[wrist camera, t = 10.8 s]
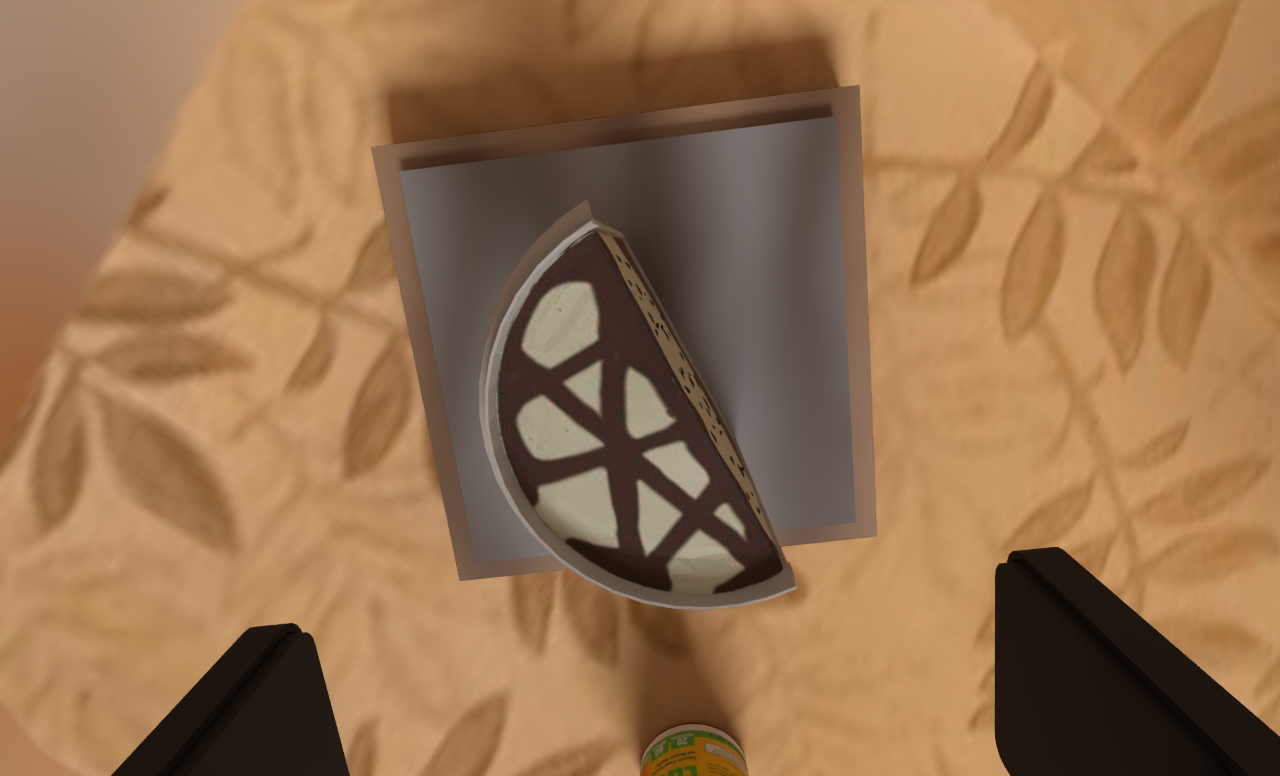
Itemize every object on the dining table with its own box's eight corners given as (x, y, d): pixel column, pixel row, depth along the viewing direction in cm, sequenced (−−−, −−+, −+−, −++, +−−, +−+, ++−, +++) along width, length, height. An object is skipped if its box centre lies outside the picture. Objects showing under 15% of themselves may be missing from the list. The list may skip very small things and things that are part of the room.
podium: (841, 93, 29) (863, 82, 26) (860, 511, 34) (880, 541, 31) (393, 150, 30) (366, 146, 27) (472, 553, 34) (457, 586, 31)
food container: (461, 277, 28) (366, 324, 18) (602, 196, 27) (580, 199, 17) (621, 537, 31) (612, 696, 21) (753, 470, 30) (806, 604, 20)
